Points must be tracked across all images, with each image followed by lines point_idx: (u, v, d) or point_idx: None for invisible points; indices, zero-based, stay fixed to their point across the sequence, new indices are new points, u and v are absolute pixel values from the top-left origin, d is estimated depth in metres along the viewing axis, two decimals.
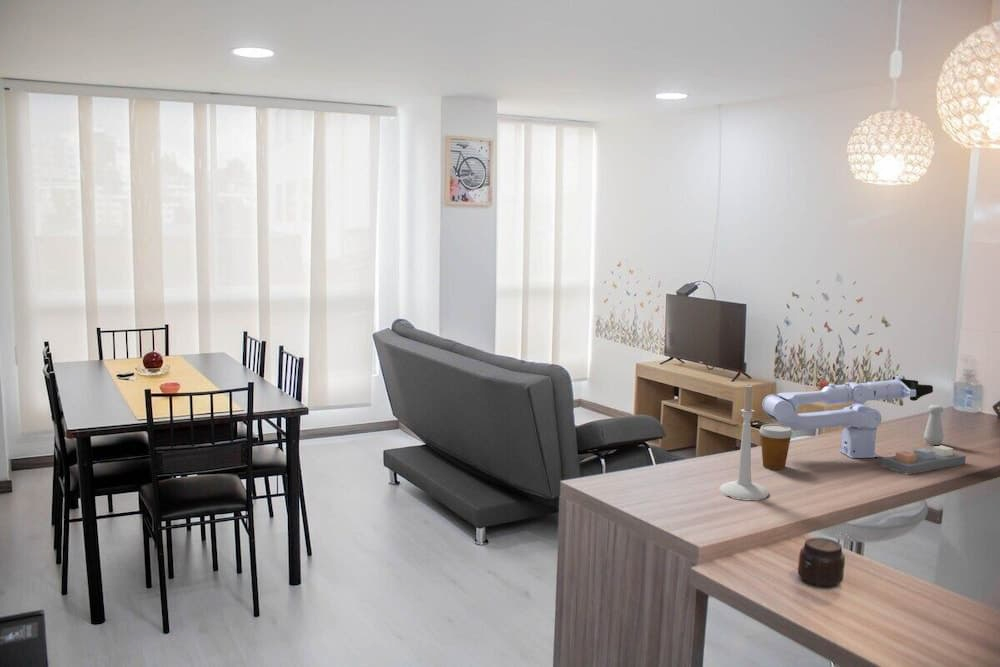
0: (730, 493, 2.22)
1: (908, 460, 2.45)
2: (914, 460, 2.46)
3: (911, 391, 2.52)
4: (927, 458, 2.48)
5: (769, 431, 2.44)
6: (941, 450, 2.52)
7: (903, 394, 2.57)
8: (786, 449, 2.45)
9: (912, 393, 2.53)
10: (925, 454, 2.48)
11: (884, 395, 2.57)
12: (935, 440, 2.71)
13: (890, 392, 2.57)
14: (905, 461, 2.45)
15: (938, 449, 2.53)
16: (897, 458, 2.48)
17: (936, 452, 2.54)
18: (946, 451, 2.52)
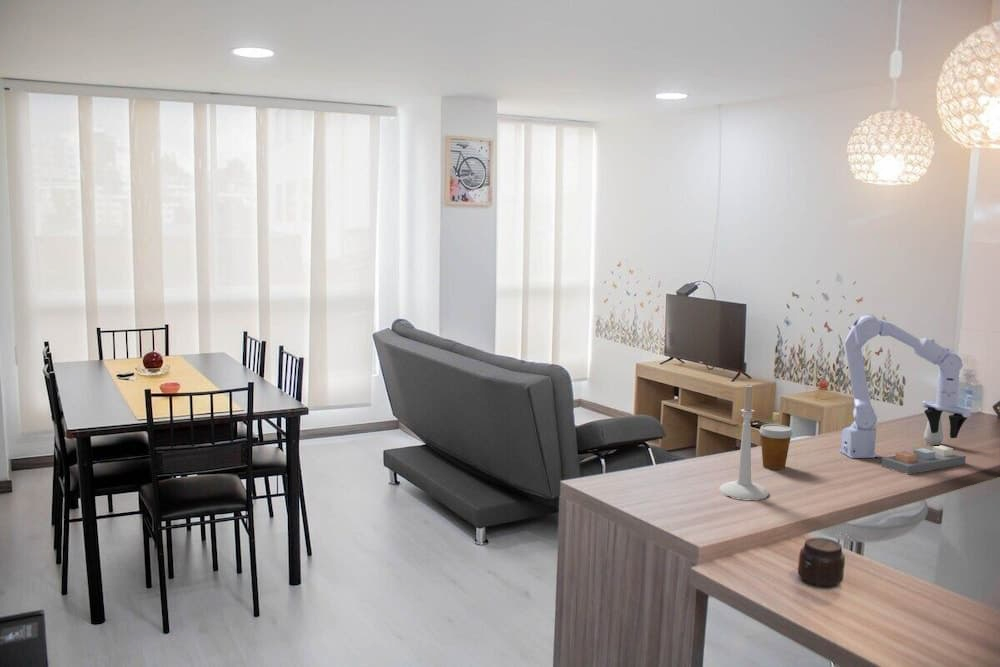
0: (730, 493, 2.22)
1: (908, 460, 2.45)
2: (914, 460, 2.46)
3: (969, 412, 2.46)
4: (927, 458, 2.48)
5: (769, 431, 2.44)
6: (941, 450, 2.52)
7: None
8: (786, 449, 2.45)
9: (968, 413, 2.46)
10: (925, 454, 2.48)
11: (945, 389, 2.49)
12: (935, 440, 2.71)
13: (955, 395, 2.49)
14: (905, 461, 2.45)
15: (938, 449, 2.53)
16: (897, 458, 2.48)
17: (936, 452, 2.54)
18: (946, 451, 2.52)
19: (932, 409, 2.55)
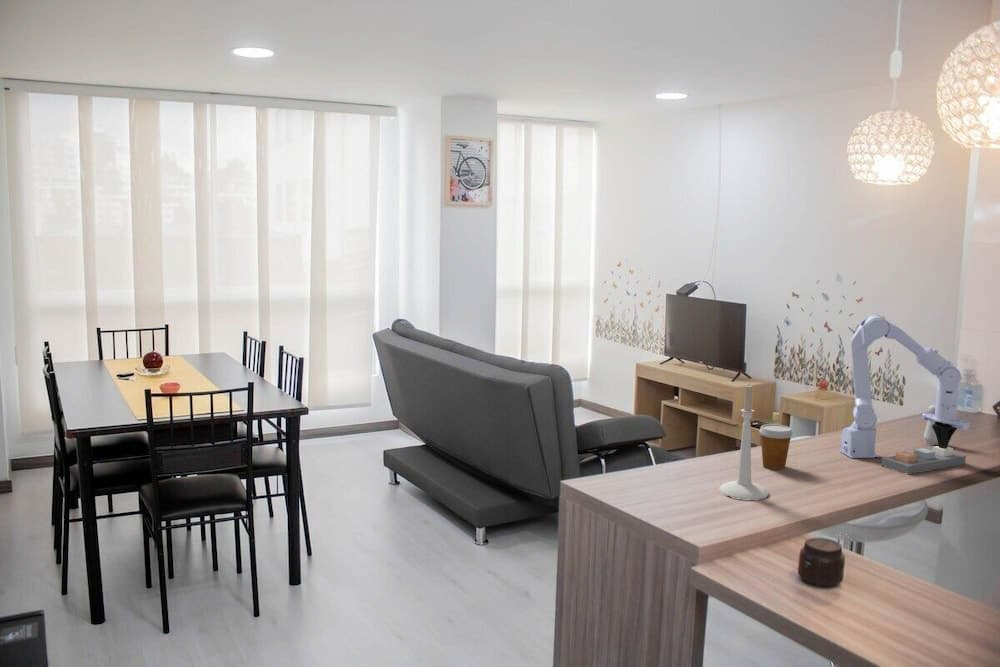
0: (730, 493, 2.22)
1: (908, 460, 2.45)
2: (914, 460, 2.46)
3: (968, 424, 2.46)
4: (927, 458, 2.48)
5: (769, 431, 2.44)
6: (941, 450, 2.52)
7: None
8: (786, 449, 2.45)
9: (967, 426, 2.46)
10: (925, 454, 2.48)
11: (944, 402, 2.50)
12: (935, 440, 2.71)
13: (954, 408, 2.49)
14: (905, 461, 2.45)
15: (938, 449, 2.53)
16: (897, 458, 2.48)
17: (936, 452, 2.54)
18: (946, 451, 2.52)
19: None
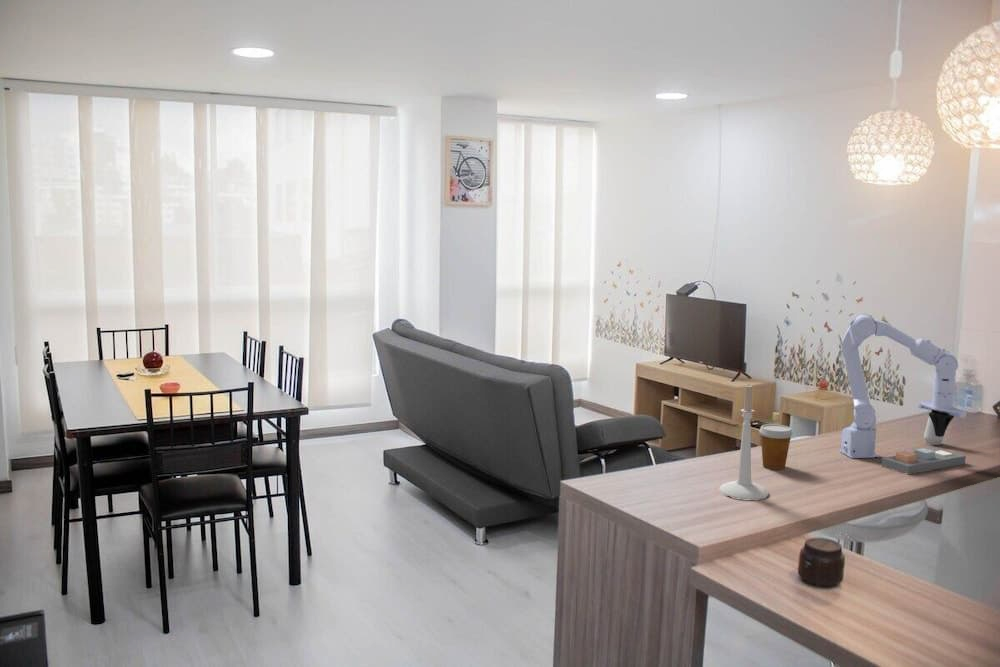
0: (730, 493, 2.22)
1: (908, 460, 2.45)
2: (914, 460, 2.46)
3: (965, 412, 2.45)
4: (927, 458, 2.48)
5: (769, 431, 2.44)
6: (941, 455, 2.52)
7: None
8: (786, 449, 2.45)
9: (964, 414, 2.45)
10: (925, 454, 2.48)
11: (940, 390, 2.49)
12: (935, 440, 2.71)
13: (951, 396, 2.48)
14: (905, 461, 2.45)
15: (938, 454, 2.53)
16: (897, 458, 2.48)
17: None
18: (946, 456, 2.52)
19: None
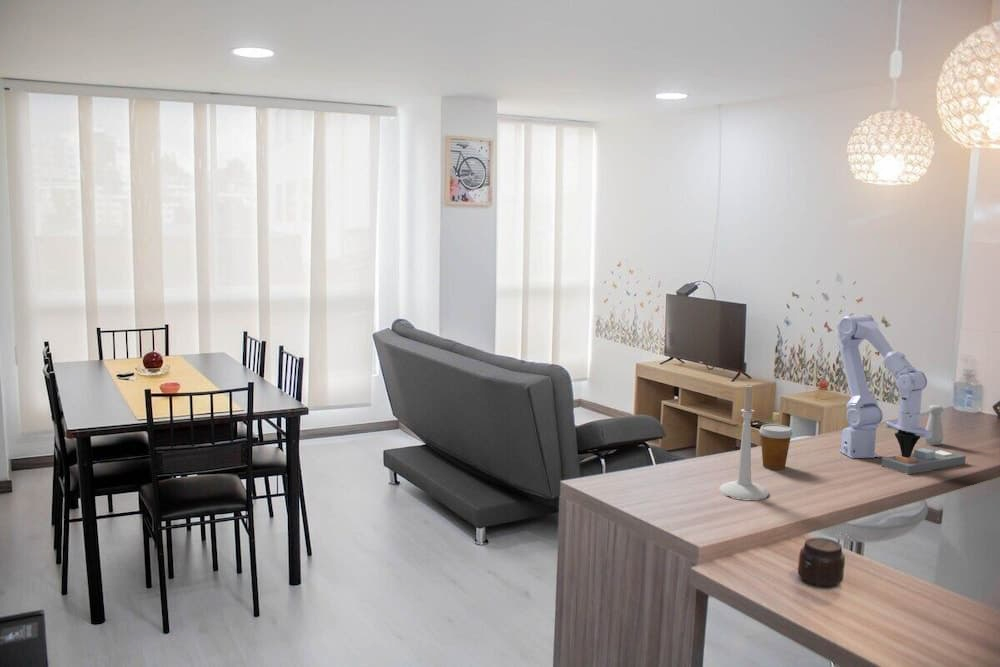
0: (730, 493, 2.22)
1: None
2: None
3: (931, 433, 2.40)
4: (927, 458, 2.48)
5: (769, 431, 2.44)
6: (941, 455, 2.52)
7: None
8: (786, 449, 2.45)
9: (930, 434, 2.40)
10: (925, 454, 2.48)
11: (900, 408, 2.45)
12: (935, 440, 2.71)
13: (917, 416, 2.43)
14: None
15: (938, 454, 2.53)
16: None
17: None
18: (946, 456, 2.52)
19: None
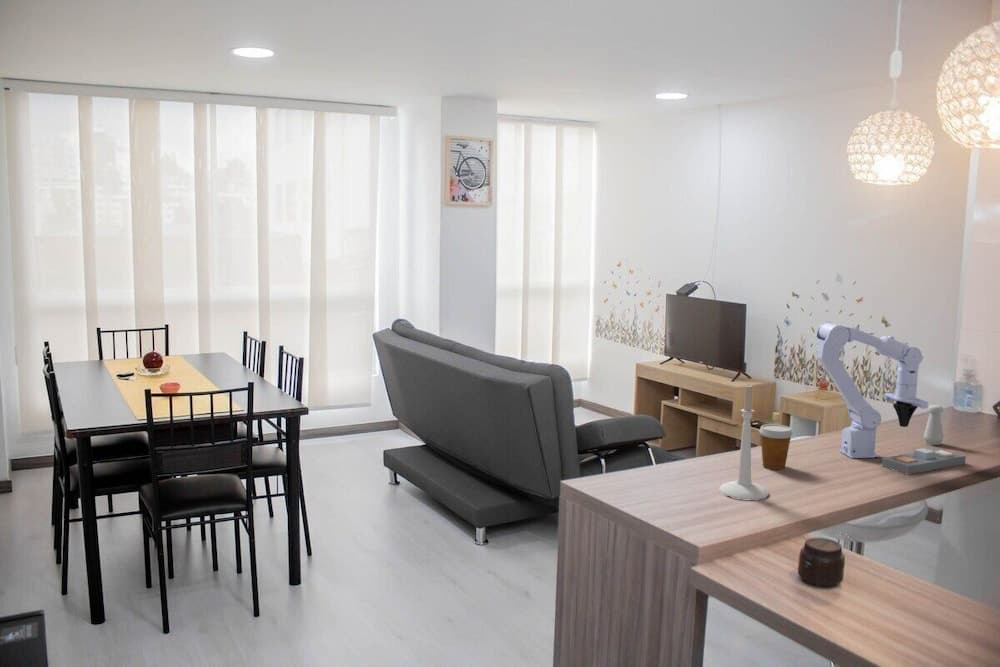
0: (730, 493, 2.22)
1: None
2: None
3: (927, 403, 2.53)
4: (927, 458, 2.48)
5: (769, 431, 2.44)
6: (941, 455, 2.52)
7: None
8: (786, 449, 2.45)
9: (925, 404, 2.53)
10: (925, 454, 2.48)
11: (908, 381, 2.56)
12: (935, 440, 2.71)
13: (913, 387, 2.56)
14: None
15: (938, 454, 2.53)
16: None
17: None
18: (946, 456, 2.52)
19: None
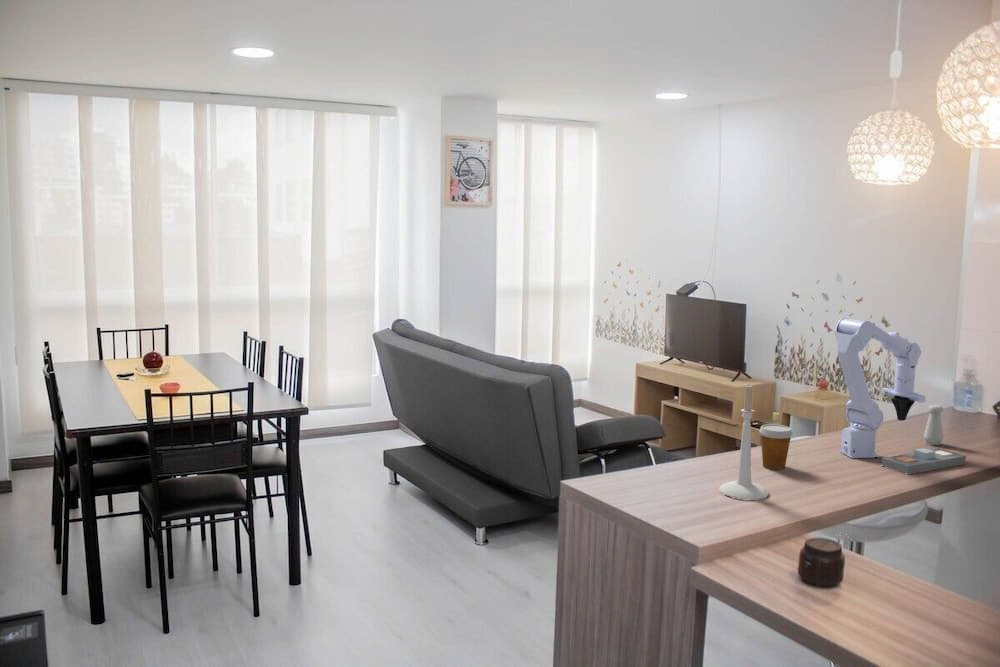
0: (730, 493, 2.22)
1: None
2: None
3: (924, 397, 2.60)
4: (927, 458, 2.48)
5: (769, 431, 2.44)
6: (941, 455, 2.52)
7: None
8: (786, 449, 2.45)
9: (923, 398, 2.60)
10: (925, 454, 2.48)
11: (909, 376, 2.63)
12: (935, 440, 2.71)
13: (911, 382, 2.63)
14: None
15: (938, 454, 2.53)
16: None
17: None
18: (946, 456, 2.52)
19: None
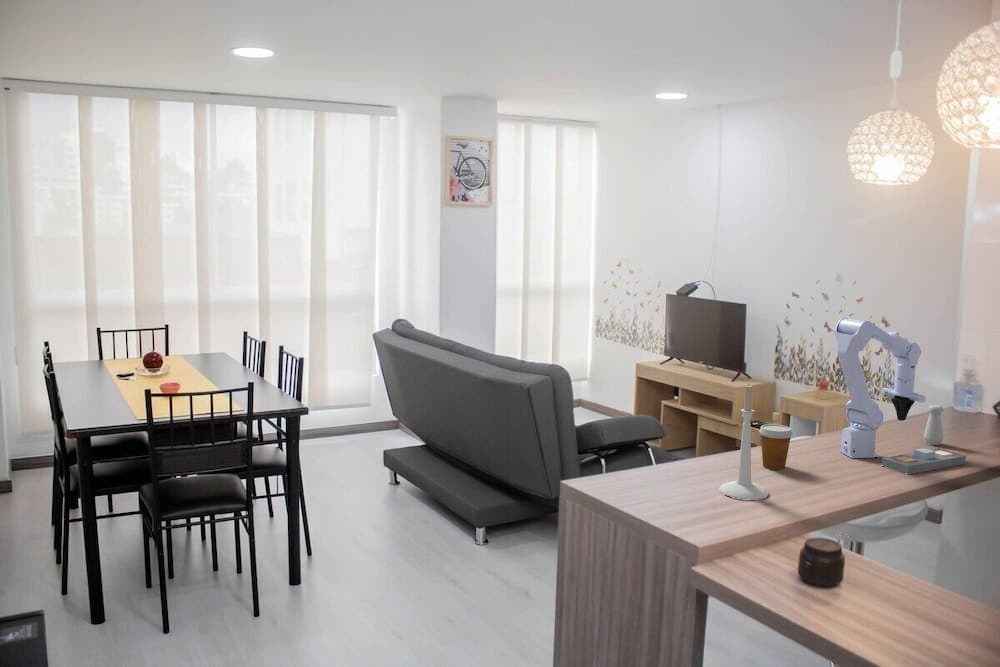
0: (730, 493, 2.22)
1: None
2: None
3: (924, 397, 2.60)
4: (927, 458, 2.48)
5: (769, 431, 2.44)
6: (941, 455, 2.52)
7: None
8: (786, 449, 2.45)
9: (923, 398, 2.60)
10: (925, 454, 2.48)
11: (909, 376, 2.63)
12: (935, 440, 2.71)
13: (911, 382, 2.63)
14: None
15: (938, 454, 2.53)
16: None
17: None
18: (946, 456, 2.52)
19: None
